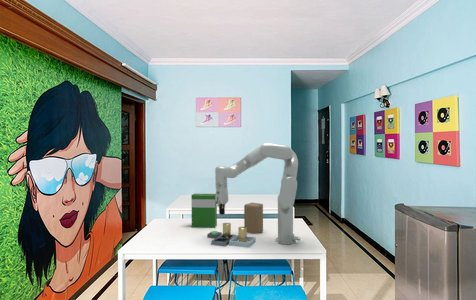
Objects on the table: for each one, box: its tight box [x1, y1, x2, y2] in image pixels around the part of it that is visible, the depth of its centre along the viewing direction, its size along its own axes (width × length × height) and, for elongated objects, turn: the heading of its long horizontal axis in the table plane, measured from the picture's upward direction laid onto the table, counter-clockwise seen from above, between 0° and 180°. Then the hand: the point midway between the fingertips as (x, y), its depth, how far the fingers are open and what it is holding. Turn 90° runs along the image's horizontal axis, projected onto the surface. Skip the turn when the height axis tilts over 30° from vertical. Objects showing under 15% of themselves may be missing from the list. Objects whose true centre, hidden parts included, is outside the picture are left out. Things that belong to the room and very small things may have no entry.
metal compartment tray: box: [210, 233, 237, 247], centre depth 193 cm, size 18×10×3 cm, turn 159°
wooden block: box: [243, 202, 264, 235], centre depth 215 cm, size 10×10×20 cm
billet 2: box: [237, 226, 248, 243], centre depth 189 cm, size 5×5×10 cm
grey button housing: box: [206, 231, 223, 239], centre depth 203 cm, size 7×7×3 cm
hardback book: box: [191, 193, 218, 229], centre depth 232 cm, size 18×7×24 cm, turn 85°
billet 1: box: [222, 222, 232, 238], centre depth 196 cm, size 5×5×10 cm
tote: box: [228, 234, 257, 248], centre depth 189 cm, size 13×13×4 cm
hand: (222, 214), depth 199 cm, fingers closed
